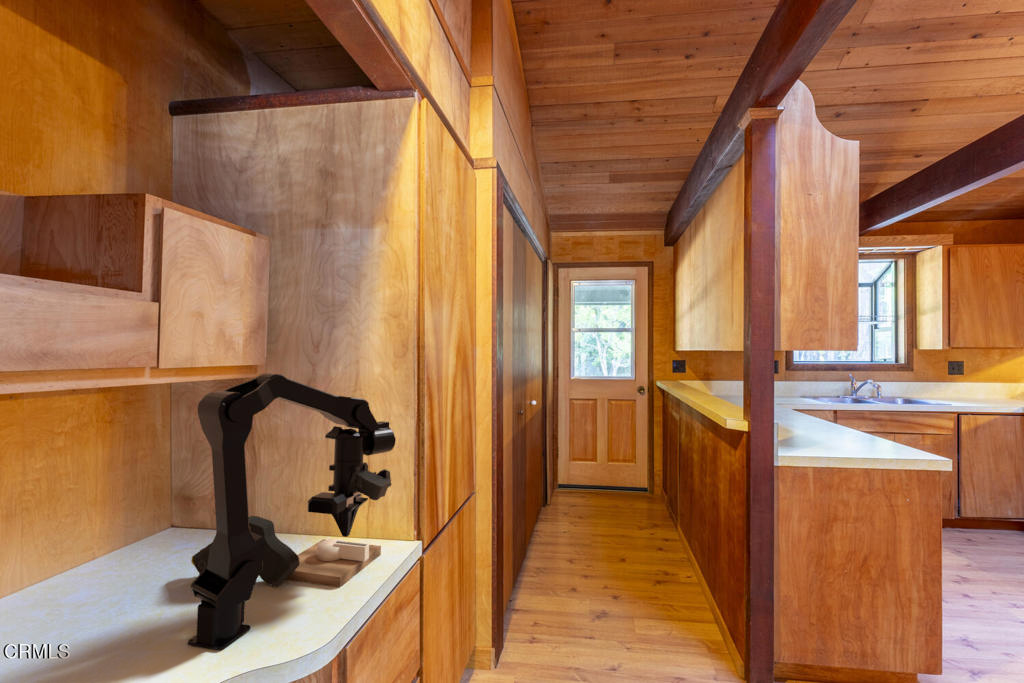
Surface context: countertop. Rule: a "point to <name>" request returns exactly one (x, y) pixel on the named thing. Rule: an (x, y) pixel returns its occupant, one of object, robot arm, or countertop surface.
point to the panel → (329, 567)
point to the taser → (276, 552)
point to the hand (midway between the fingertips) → (345, 536)
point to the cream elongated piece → (342, 550)
